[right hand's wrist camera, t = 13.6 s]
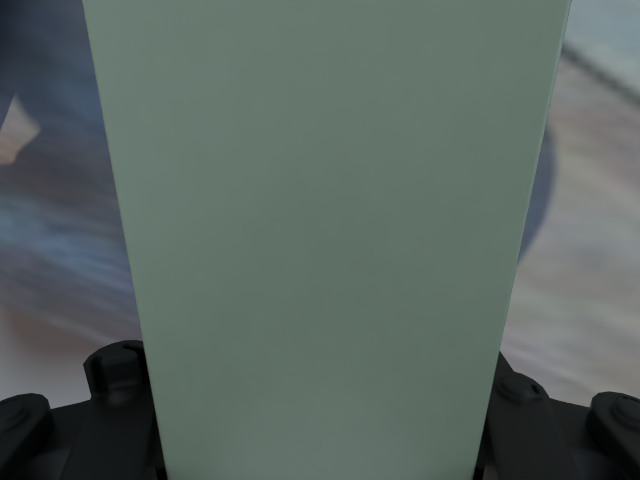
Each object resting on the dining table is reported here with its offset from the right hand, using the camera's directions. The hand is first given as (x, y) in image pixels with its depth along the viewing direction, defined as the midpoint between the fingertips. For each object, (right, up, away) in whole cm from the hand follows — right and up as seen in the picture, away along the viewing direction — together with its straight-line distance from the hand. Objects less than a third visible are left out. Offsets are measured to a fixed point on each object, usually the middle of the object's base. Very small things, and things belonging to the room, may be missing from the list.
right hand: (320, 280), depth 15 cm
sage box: (0, +10, -4) cm, 11 cm away
